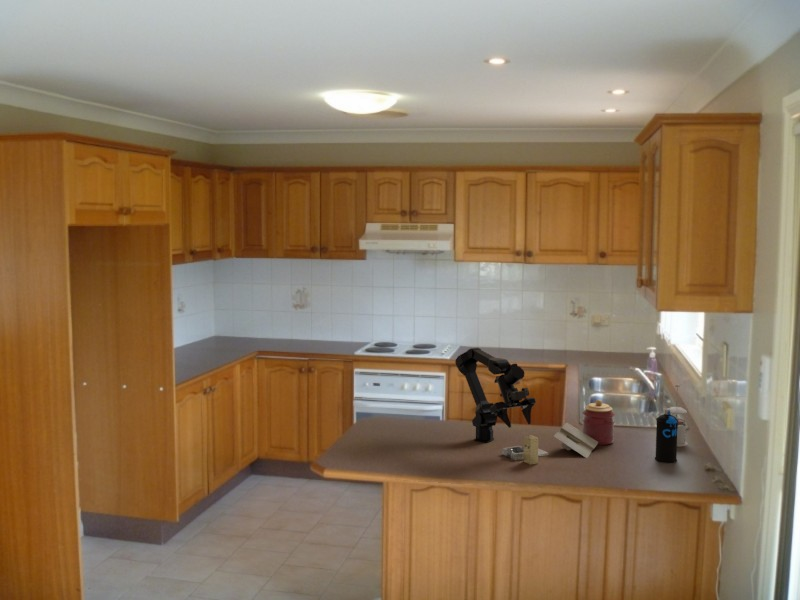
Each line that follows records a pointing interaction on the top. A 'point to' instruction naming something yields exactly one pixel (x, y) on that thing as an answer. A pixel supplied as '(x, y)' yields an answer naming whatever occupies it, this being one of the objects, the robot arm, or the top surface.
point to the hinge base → (519, 452)
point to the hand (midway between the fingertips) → (520, 425)
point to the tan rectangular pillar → (530, 449)
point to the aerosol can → (666, 438)
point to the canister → (599, 422)
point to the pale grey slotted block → (576, 440)
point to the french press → (680, 423)
